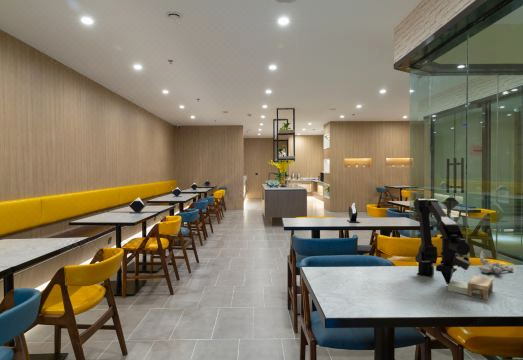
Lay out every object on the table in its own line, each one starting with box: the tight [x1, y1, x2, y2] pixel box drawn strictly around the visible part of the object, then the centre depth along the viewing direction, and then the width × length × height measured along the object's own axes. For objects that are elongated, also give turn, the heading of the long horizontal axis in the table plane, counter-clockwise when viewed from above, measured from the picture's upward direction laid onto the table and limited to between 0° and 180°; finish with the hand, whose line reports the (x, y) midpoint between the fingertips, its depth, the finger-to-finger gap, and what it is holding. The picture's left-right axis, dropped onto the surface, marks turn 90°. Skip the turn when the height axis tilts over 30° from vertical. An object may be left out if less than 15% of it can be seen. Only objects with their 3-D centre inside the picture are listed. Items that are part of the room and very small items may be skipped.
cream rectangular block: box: [447, 279, 483, 295], centre depth 145 cm, size 13×10×2 cm
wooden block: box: [466, 275, 494, 301], centre depth 142 cm, size 7×15×6 cm, turn 138°
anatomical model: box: [479, 250, 514, 274], centre depth 180 cm, size 19×8×20 cm
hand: (448, 284), depth 150 cm, fingers closed, pressing on cream rectangular block
